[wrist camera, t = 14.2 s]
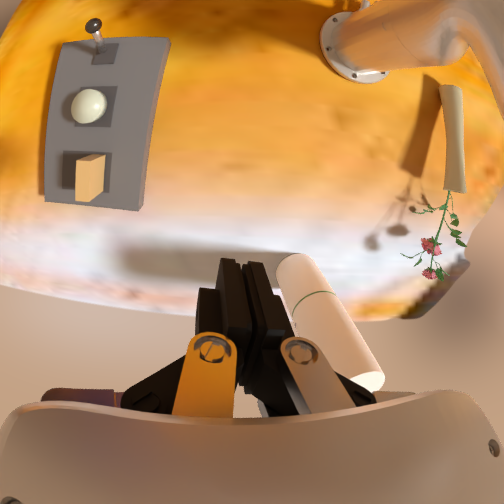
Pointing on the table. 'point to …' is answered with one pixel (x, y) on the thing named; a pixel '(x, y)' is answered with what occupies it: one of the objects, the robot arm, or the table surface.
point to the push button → (88, 106)
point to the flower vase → (449, 170)
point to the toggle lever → (96, 33)
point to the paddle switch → (89, 177)
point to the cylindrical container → (326, 321)
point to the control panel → (105, 118)
